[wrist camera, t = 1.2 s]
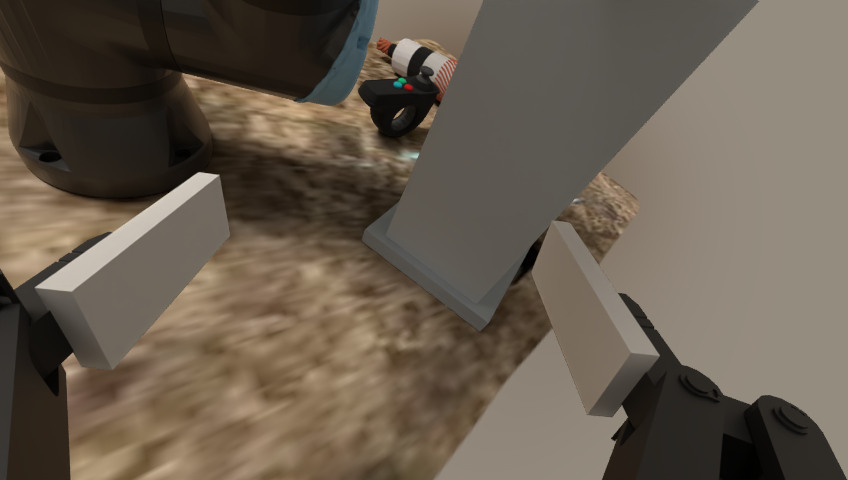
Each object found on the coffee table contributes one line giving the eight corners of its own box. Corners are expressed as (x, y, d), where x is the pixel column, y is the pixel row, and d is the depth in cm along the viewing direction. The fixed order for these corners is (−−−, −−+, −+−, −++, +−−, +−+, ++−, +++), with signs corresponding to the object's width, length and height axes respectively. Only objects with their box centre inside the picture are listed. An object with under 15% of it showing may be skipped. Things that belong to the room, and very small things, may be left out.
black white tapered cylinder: (381, 77, 73) (404, 28, 69) (523, 161, 64) (557, 108, 61) (353, 61, 63) (378, 2, 60) (515, 155, 55) (554, 93, 51)
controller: (426, 136, 56) (451, 77, 49) (361, 148, 49) (379, 80, 42) (411, 119, 58) (432, 60, 51) (345, 128, 50) (359, 60, 43)
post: (479, 331, 37) (849, -14, 14) (361, 240, 39) (509, -193, 16) (539, 225, 52) (763, -24, 29) (451, 164, 54) (595, -115, 31)
